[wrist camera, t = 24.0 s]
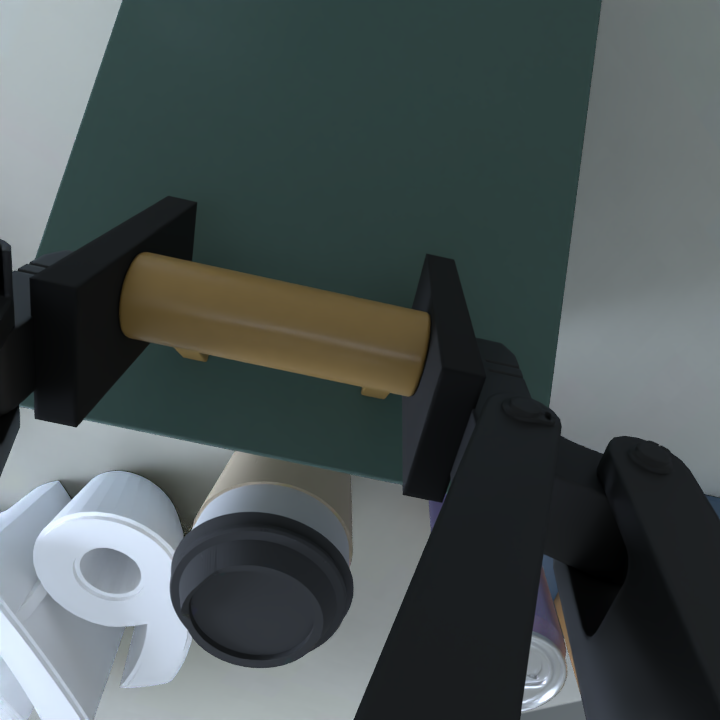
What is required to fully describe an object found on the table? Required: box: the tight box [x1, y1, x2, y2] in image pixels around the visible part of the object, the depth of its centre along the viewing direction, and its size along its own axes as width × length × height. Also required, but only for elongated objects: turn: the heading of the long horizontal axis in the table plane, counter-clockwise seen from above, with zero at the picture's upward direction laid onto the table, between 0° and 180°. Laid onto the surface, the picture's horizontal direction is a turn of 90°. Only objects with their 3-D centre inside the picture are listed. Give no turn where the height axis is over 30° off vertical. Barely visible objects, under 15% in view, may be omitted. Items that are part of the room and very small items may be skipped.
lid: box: [19, 0, 602, 494], centre depth 16 cm, size 21×15×6 cm
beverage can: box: [429, 494, 567, 712], centre depth 35 cm, size 6×6×15 cm
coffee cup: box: [170, 451, 353, 668], centre depth 34 cm, size 9×9×15 cm
